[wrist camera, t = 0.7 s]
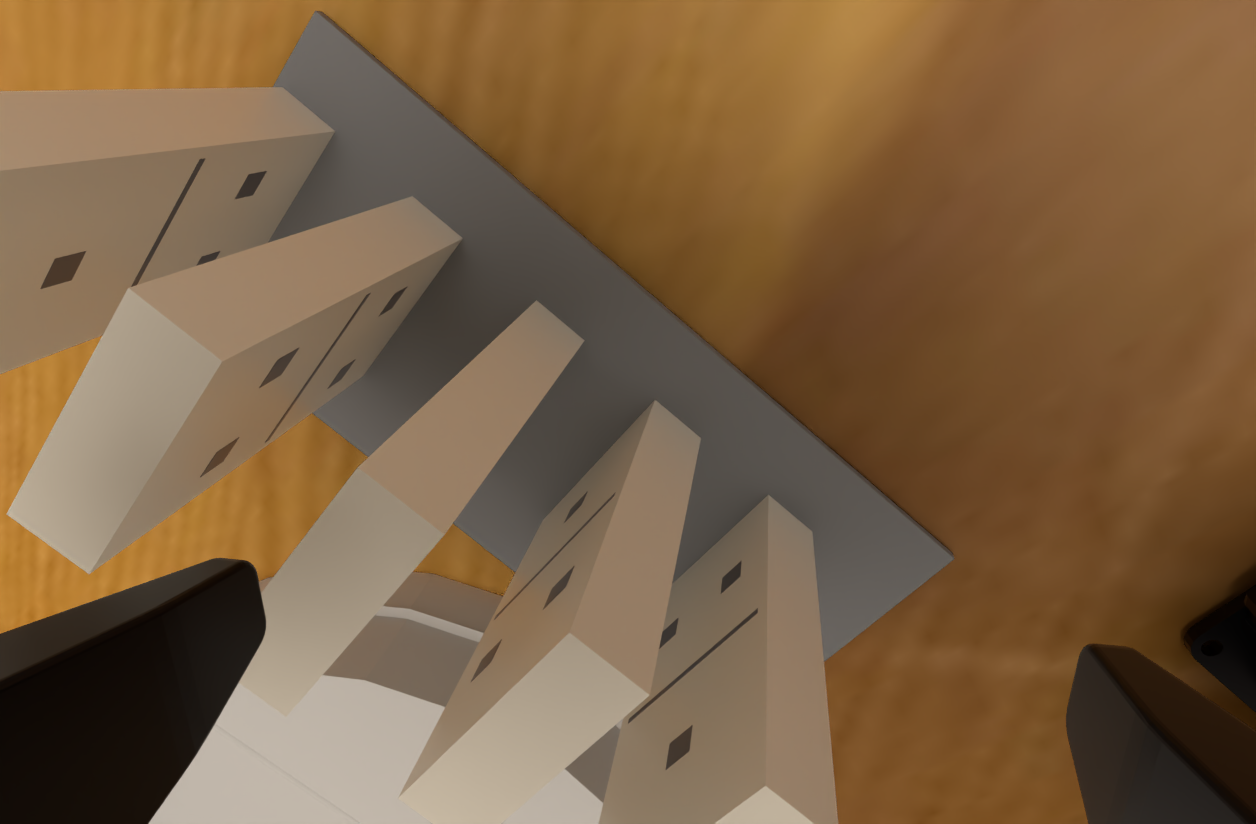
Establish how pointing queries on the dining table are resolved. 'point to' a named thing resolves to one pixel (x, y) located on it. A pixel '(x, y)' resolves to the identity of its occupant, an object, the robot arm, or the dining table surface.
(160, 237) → the tile
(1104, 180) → the dining table surface
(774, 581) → the tile
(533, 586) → the tile
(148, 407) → the tile
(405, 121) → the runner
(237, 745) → the dish
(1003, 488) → the dining table surface
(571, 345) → the tile
